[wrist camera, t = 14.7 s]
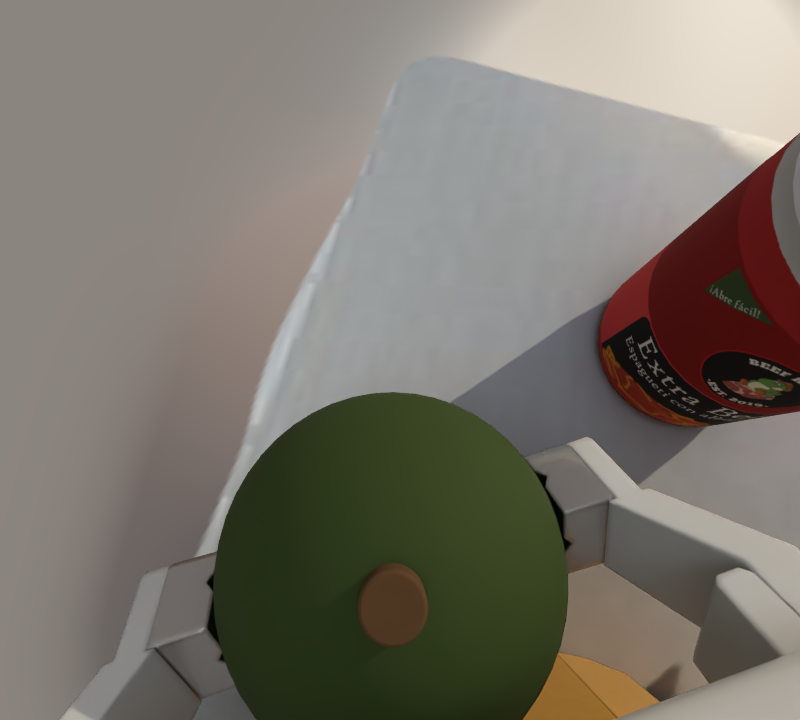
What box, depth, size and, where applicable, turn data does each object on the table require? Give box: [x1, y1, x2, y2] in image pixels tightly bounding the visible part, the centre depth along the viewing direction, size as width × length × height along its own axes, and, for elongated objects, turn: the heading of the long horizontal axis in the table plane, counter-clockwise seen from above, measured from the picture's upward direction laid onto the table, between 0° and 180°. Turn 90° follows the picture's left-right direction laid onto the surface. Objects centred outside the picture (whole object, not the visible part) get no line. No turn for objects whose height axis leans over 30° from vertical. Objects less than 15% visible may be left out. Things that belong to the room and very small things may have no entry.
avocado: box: [213, 392, 568, 720], centre depth 10 cm, size 6×6×10 cm
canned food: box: [598, 133, 800, 427], centre depth 16 cm, size 8×8×11 cm
